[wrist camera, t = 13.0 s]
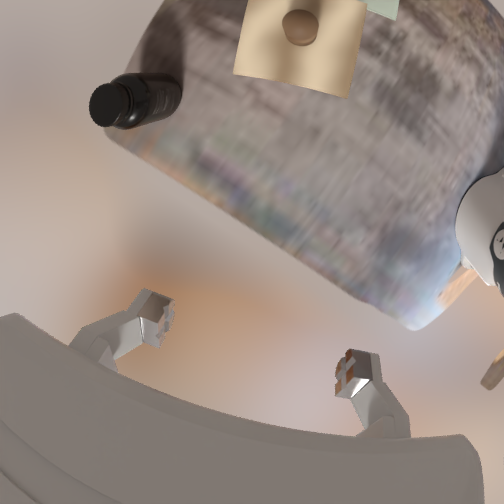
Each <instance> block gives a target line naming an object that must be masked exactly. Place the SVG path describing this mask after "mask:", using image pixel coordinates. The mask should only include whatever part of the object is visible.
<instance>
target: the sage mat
mask: <svg viewBox="0 0 504 504" xmlns="http://www.w3.org/2000/svg"><path fill="white" fill-rule="evenodd" d="M358 1H361V2H364V3H367V4H368V5H367V10H368V11H371V12H374V13H377V14H379V15H382V16H384V17H387V18H389V19H392V20H394V21H395V20H396V17H397V11H398V5H399V0H358Z"/></svg>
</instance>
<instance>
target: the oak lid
mask: <svg viewBox="0 0 504 504" xmlns="http://www.w3.org/2000/svg"><path fill="white" fill-rule="evenodd" d="M367 5H368V4H367V3H364V2H361V1H358V0H248V4H247V8H246V12H245V17H244V21H243V26H242V30H241V35H240V40H239V45H238V50H237V55H236V60H235V65H234V70H233V74H236V75H244V76H250V77H257V78H263V79H268V80H274V81H279V82H284V83H288V84H293V85H297V86H302V87H306V88H310V89H314V90H318V91H321V92H325V93H329V94H332V95H335V96H339V97H342V98H345V99H347V98H348V94H349V90H350V85H351V81H352V77H353V73H354V68H355V64H356V59H357V55H358V50H359V46H360V41H361V36H362V31H363V26H364V21H365V16H366V10H367Z"/></svg>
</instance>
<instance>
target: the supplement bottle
mask: <svg viewBox="0 0 504 504" xmlns="http://www.w3.org/2000/svg"><path fill="white" fill-rule="evenodd" d="M180 99H181V90H180V87H179V84H178V83H177V81H176V80H175V79H174V78H173V77H171V76H170V75H167V74H163V73H126V74H122V75H120V76H118V77H116V78H115V79H113V80H112V81H111V82H110V83H107V84H103V85H101V86H99V87H98V88H96V90H95V91H94V92H93V94H92V96H91V98H90V102H89V111H90V115H91V118H92V119H93V121H94V122H95V123H96V124H98V125H100V126H101V127H110V126H114V127H115V128H118V129H122V130H127V129H132V128H136V127H139V126H142V125H145V124H149V123H152V122H155V121H159V120H162V119H165V118H167V117H169V116H171V115H172V114H173V113H174V112H175V111H176V109H177V108H178V106H179V103H180Z"/></svg>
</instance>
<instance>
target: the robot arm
mask: <svg viewBox="0 0 504 504" xmlns="http://www.w3.org/2000/svg"><path fill="white" fill-rule="evenodd" d="M455 230H456V238H457V241H458V244H459V246H460V248H461V264H462V265H463V266H464V267H465V268H467V269H475V271H476V272H477V273H478V274H479V276H480V277H481V278H482V280H483V281H484V282H485V283H486V284H487V285H488V286H490V285H492V286H497V287H498V289H499V291H500V293H501V294H502V296H503V297H504V168H502V169H501V170H500V171H499V172H498V173H496V174H494V175H490V176H486V177H484V178H482V179H480V180H479V181H477V182H476V183H475V184H474V185H473V186H472V187H471V188H470V189H469V190H468V192H467V193H466V195H465V196H464V198H463V200H462V202H461V204H460V207H459V209H458V213H457V217H456V225H455ZM174 305H175V304H174V299H171V298H169V297H166V296H163V295H161V294H158V293H156V292H153V291H150V290H148V289H145V288H144V289H143V290H141V292H140V293H139V294H138V296H137V297H136V298H135V300H134V301H133V303H132V304H131V305H130V307H129V308H128V309H127V311H124V310H123V311H121V312H118V313H116V314H113V315H111V316H109V317H106V318H104V319H101V320H99V321H97V322H94V323H92V324H89V325H87V326H84V327H82V328H81V330H80V331H79V332H78V334H77V335H76V336H75V338H74V339H73V341H72V342H71V343H70V345H69V346H67V345H65V344H64V343H62V342H60V341H59V340H57V339H56V338H54V337H53V336H51V335H49V334H48V333H46V332H45V331H43V330H42V329H40V328H39V327H37V326H36V325H35V324H33V323H32V322H30V321H29V320H27V319H26V318H25V317H23V316H22V315H20V314H18V313H13V314H8V315H5V316H2V317H0V504H484V485H483V475H482V467H481V462H480V458H479V455H478V452H477V451H476V450H475V448H474V447H473V445H472V444H471V443H470V442H469V440H468V439H467V438H466V437H465V436H464V435H461V434H458V435H457V434H456V435H447V436H436V437H419V438H411V434H410V423H409V416H408V414H407V413H406V411H405V410H404V409H403V407H402V406H401V404H400V403H399V402H398V400H397V399H396V397H395V396H394V394H393V393H392V392H391V390H390V389H389V388H388V386H387V385H386V383H384V382H383V381H382V373H381V365H380V358H379V355H378V354H375V353H369V352H365V351H360V350H354V349H349V350H347V352H346V353H345V357H344V358H341V360H340V361H339V362H338V364H337V367H336V372H335V377H336V379H337V380H338V382H337V383H336V384H335V396H336V397H342V398H348V399H351V402H352V404H353V406H354V408H355V410H356V412H357V414H358V416H359V418H360V420H361V422H362V424H363V426H364V429H365V430H363V431H362V432H360V433H359V434H357V435H356V437H355V436H342V435H333V434H325V433H324V434H323V433H317V432H310V431H303V430H297V429H291V428H286V427H280V426H275V425H270V424H265V423H261V422H257V421H253V420H248V419H245V418H241V417H236V416H233V415H229V414H226V413H222V412H219V411H215V410H212V409H209V408H206V407H203V406H199V405H196V404H193V403H191V402H188V401H185V400H182V399H179V398H176V397H173V396H171V395H168V394H166V393H163V392H161V391H158V390H156V389H153V388H151V387H148V386H146V385H143V384H141V383H139V382H137V381H134V380H132V379H130V378H128V377H126V376H124V375H121V374H119V373H118V370H117V367H116V364H115V361H114V360H115V359H117V358H119V357H120V356H122V355H124V354H126V353H127V352H129V351H131V350H132V349H134V348H135V347H137V346H139V345H140V344H142V343H143V342H144V343H147V344H149V345H152V346H155V347H157V348H160V346H161V344H162V343H163V341H164V339H165V332H167V331H169V329H170V328H171V325H172V322H173V319H174V311H173V307H174Z"/></svg>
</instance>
